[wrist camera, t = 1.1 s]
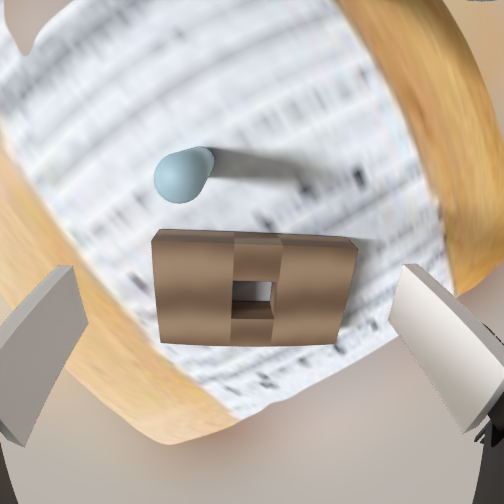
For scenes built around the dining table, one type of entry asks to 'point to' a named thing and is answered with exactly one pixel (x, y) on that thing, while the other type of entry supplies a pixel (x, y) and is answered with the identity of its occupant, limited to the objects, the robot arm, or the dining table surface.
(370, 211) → the dining table surface
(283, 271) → the hole block
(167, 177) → the peg
